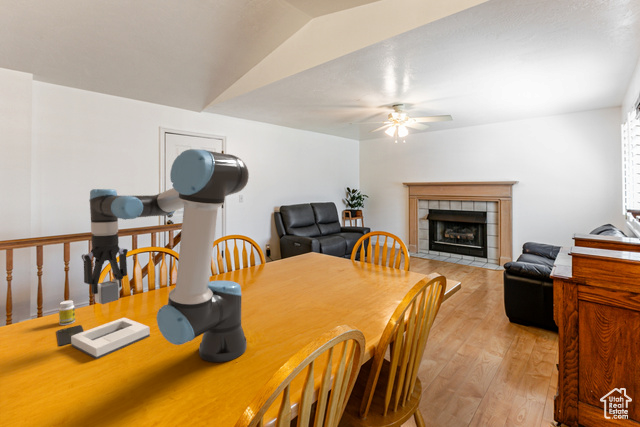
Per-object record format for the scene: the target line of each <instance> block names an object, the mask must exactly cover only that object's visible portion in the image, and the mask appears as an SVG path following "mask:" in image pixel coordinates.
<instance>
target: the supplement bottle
mask: <svg viewBox="0 0 640 427" xmlns="http://www.w3.org/2000/svg"><path fill="white" fill-rule="evenodd" d="M75 308H76V307H75V305H74V301H73V300H72V299H70V300H64V301H61V302H60V303H59V308H58V319H59V325H60V326H66V325H67V326H69V325H70V324H74V323H75V322H76V311H75V310H76V309H75Z"/></svg>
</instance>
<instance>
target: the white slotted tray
mask: <svg viewBox="0 0 640 427" xmlns="http://www.w3.org/2000/svg"><path fill="white" fill-rule="evenodd" d="M150 330H151V329H150V326H148V325H145V324H143V323H140V322H138V321H135V320H132V319H129V318H127V317H121V318H119V319H116V320H113V321H110V322H107V323H104V324H101V325H99V326H96V327H94V328H93V327H92V328H90V329H87V330H83V331H84V332H81V333H78V334H76V335H73V336H71V344H70V345H71V347H73V348H75V349H76V350H78V351H80V352H82V353H84V354H85V355H88V356H90V357H91V358H93V359H95V360H99V359H101V358H104V357H105V356H108V355H110V354H112V353H114V352H117V351H119V350H122V349H124V348H127V347H128V346H130V345H132V344H135V343H137V342H139V341H142V340H144V339H147V338H148V337H150V335H151V334H150V332H151V331H150Z"/></svg>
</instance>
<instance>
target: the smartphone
mask: <svg viewBox="0 0 640 427" xmlns="http://www.w3.org/2000/svg"><path fill="white" fill-rule="evenodd" d="M84 331H85V330H84V328H83V325H81V324H79V325H74V326H70V327H66V328H65V327H64V328H62V329H58V330H56V338H57V345H58V346H57V347H63V346H65V347H66V346H67V345H72V344H71V336H73V335H76V334H78V333H81V332H84Z"/></svg>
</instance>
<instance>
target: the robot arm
mask: <svg viewBox="0 0 640 427" xmlns="http://www.w3.org/2000/svg"><path fill="white" fill-rule="evenodd" d="M249 175H250V174H249V169H248V166H247V164H246V163H245V162H244V161H243V160H242V158H240V157H238V156H236V155H233V154H229V153H222V152H216V151H211V150H206V149H195V148H192V149H191V148H190V149H186V150H183V151H182V152H180V154H179V155H177V156H176V158H175V159H174V161H173V162H172V164H171V168H170V175H169V176H170V182H171V185H172V188H170V189H167V190H164V191H163V192H161V193H158V194H154V195H118V192H117V190H116V189H112V188H111V189H109V188H108V189H106V188H101V189H100V188H92V189H90V191H89V210H90V231H91V250H90V252H89V253H87V254H81V260H82V261H83V282H84V284H86V285H91V289H90V290H91V293H92V294H93V295H94V303H97V304H101V284H99V283H100V282H99V280H100V277H101V273H102V268H103V265H104V264H105V262H107V261H108V262H109V265H110V268H111V271H112V273H113V277H114V278H112V280H111V281H113V282H116V283H118V299H119V298H120V288H122V280H123V279H124V278H125V277H127V276H128V268H127V266H128V265H127V264H128V263H127V255H128V250H129V249H127V248H121V247H120V246H119V234H118V233H119V220H118V219H120V220H134V219H136V218H137V219H138V218H146V217H160V216H161V217H165V216H166V217H167V216H170V215H173V214H175V212H176V211H177V210H180V209H183V211H182V212H183V213H182V221H181V224H182V225H181V231H180V232H181V233H180V242H179V243H180V244H179V252H178V253H179V254H178V260H177V261H178V262H177V272H176V279H175V287H174V288H173V289H171V290H170V291H169V293H168V301H167V304H163V305H162V307H160V308H159V309H158V311H157V313H156V323H157V327H158V329H159V330H158V331H160V333H161V335H162V336H163V337H164V339H165V340H166V341H168V342H169V343H171V344H172V345H174V346H180V345H184V344H186V343H189V342H191V341H193V340H195V338H197V337H200V336H201V335H202V338H201V342H200V343H199V347H198V349H199V350H198V351H199V352H198V355H199V357H200V358H201V359H202V360H203V361H206V362H209V363H222V362H228V361H231V360H234V359H237V358H239V357H240V356H242V355H243V354H245V352H246V351H247V343H248V342H247V338H246V336H245V332H244V329H243V327H242V326H243V325H242V294H243V293H242V287H241V285H240V284H239V283H238V282H235V281H231V280H211V281H210V275H211V267H212V259H213V250H214V242H215V234H216V233H215V232H216V225H217V218H218V210H219V208H220V207H222V206H223V205H224V204H225V198H226V197H227V196H230V195H234V194H237V193H240V192H241V191H242V190H244V189H245V187H246V186H247V185H248V182H249V178H250V177H249ZM117 255H118V259H117ZM93 257H94V258H95V259H94V266H93V268H92V265H93V264H92V263H93V262H92V259H93ZM118 260H119V261H118ZM118 262H119V264H118Z"/></svg>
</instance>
